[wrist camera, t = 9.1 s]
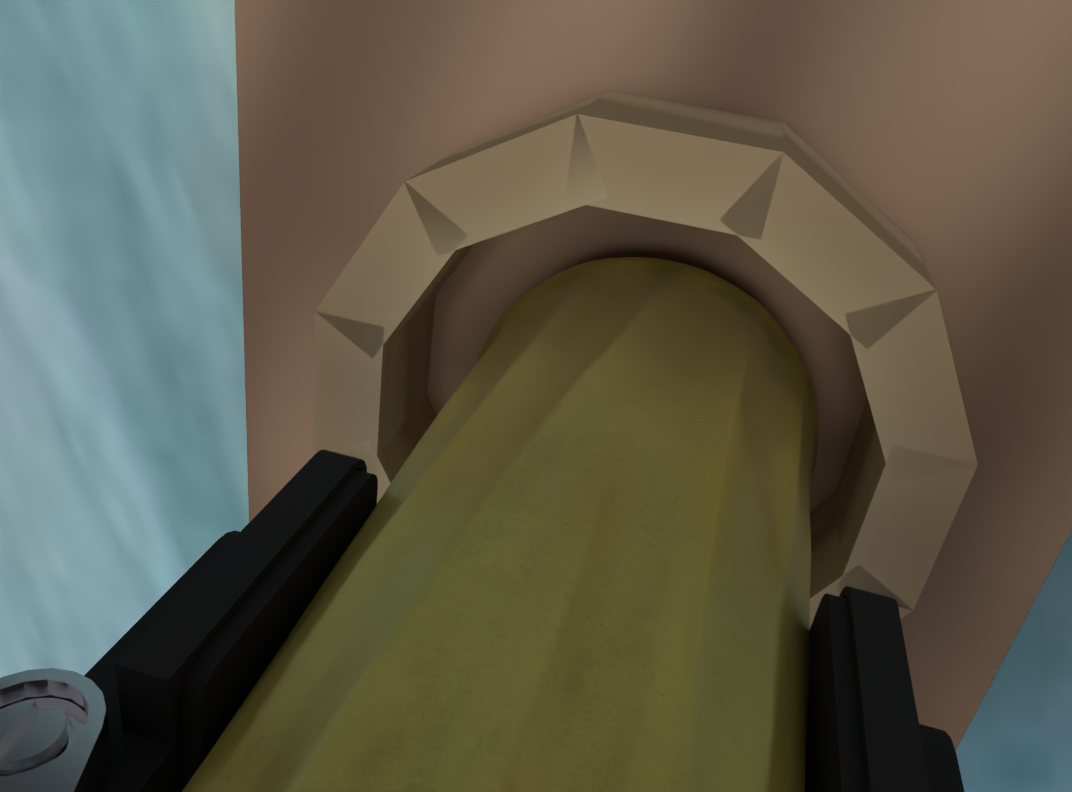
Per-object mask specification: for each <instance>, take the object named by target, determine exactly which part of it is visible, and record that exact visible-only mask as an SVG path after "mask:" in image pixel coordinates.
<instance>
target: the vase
mask: <svg viewBox="0 0 1072 792" xmlns="http://www.w3.org/2000/svg"><path fill="white" fill-rule="evenodd" d="M818 440H819V421H818V407H817V400H816V393H815V388H814V385H813V382H812V379H811V376H810V373H809V370H808V368H807V367H806V365H805V363H804V361H803V359H802V358H801V356H800V354H799V352H798V351H797V349H796V348H795V347H794V345H793V344H792V343H791V341H790V340H789V338H788V337H787V335H786V334H785V332H784V331H783V330H782V328H781V327H780V326H779V325H778V323H777V322H776V321H775V319H774V318H773V317H772V316H771V314H770V313H769V312H768V311H767V310H766V309H765V308H764V307H763V306H762V305H761V304H760V303H759V302H758V301H757V300H755V299H754V298H752V297H751V296H749V295H748V294H746V293H745V292H744V291H742V290H741V289H739V288H737V287H736V286H734V285H732V284H731V283H729V282H727V281H726V280H724V279H722V278H720V277H718V276H716V275H714V274H712V273H710V272H708V271H705V270H702V269H699V268H697V267H694V266H691V265H687V264H683V263H680V262H676V261H670V260H665V259H659V258H647V257H619V258H604V259H599V260H593V261H589V262H585V263H582V264H579V265H576V266H573V267H571V268H568V269H566V270H564V271H561V272H559V273H557V274H555V275H553V276H551V277H550V278H548V279H546V280H544V281H542V282H541V283H539V284H538V285H536V286H535V287H534V288H532V289H531V290H530V291H528V292H527V293H525V294H524V295H523V296H521V297H520V298H519V299H517V300H516V301H515V302H513V303H512V304H511V305H510V307H509V308H508V309H507V310H505V311H504V313H503V314H502V315H501V317H500V318H499V319H498V321H497V322H496V324H495V325H494V327H493V329H492V330H491V332H490V334H489V336H488V337H487V339H486V341H485V343H484V346H483V348H482V350H481V352H480V355H479V357H478V360H477V363H476V364H475V366H474V367H473V368H472V369H471V371H470V372H469V373H468V374H467V376H466V377H465V378H464V379H463V381H462V382H461V383H460V384H459V386H458V387H457V388H456V390H455V391H454V393H453V394H452V395H451V397H450V398H449V399H448V401H447V402H446V404H445V405H444V407H443V408H442V409H441V411H440V412H439V414H438V415H437V417H436V418H435V420H434V421H433V422H432V424H431V425H430V427H429V428H428V430H427V431H426V433H425V434H424V435H423V437H422V438H421V440H420V441H419V442H418V444H417V445H416V447H415V448H414V450H413V451H412V453H411V454H410V456H409V457H408V459H407V460H406V461H405V463H404V464H403V466H402V467H401V469H400V470H399V472H398V473H397V475H396V476H395V478H394V479H393V481H392V482H391V484H390V485H389V487H388V488H387V490H386V491H385V493H384V495H383V496H382V498H381V499H380V501H379V502H378V504H377V505H376V507H375V508H374V510H373V511H372V513H371V514H370V516H369V517H368V519H367V520H366V522H365V523H364V525H363V526H362V527H361V529H360V530H359V532H358V533H357V535H356V536H355V538H354V539H353V540H352V542H351V543H350V545H349V546H348V548H347V549H346V551H345V552H344V553H343V555H342V556H341V558H340V559H339V561H338V562H337V564H336V565H335V567H334V568H333V570H332V571H331V572H330V574H329V575H328V577H327V578H326V580H325V581H324V583H323V584H322V586H321V587H320V589H319V590H318V592H317V593H316V595H315V596H314V598H313V599H312V601H311V602H310V604H309V605H308V607H307V608H306V610H305V611H304V613H303V614H302V616H301V617H300V619H299V620H298V622H297V624H296V625H295V627H294V628H293V630H292V631H291V633H290V634H289V636H288V637H287V639H286V640H285V642H284V643H283V645H282V646H281V648H280V649H279V651H278V652H277V653H276V655H275V656H274V658H273V659H272V661H271V662H270V664H269V665H268V667H267V668H266V670H265V671H264V673H263V674H262V676H261V677H260V678H259V680H258V681H257V683H256V684H255V686H254V687H253V689H252V690H251V692H250V693H249V695H248V696H247V698H246V699H245V701H244V702H243V703H242V705H241V706H240V708H239V709H238V711H237V712H236V714H235V715H234V717H233V718H232V720H231V721H230V723H229V724H228V726H227V727H226V728H225V730H224V731H223V733H222V734H221V736H220V737H219V739H218V740H217V742H216V743H215V745H214V746H213V748H212V749H211V751H210V752H209V754H208V755H207V757H206V758H205V760H204V761H203V762H202V764H201V765H200V767H199V768H198V769H197V771H196V772H195V774H194V775H193V776H192V778H191V779H190V781H189V782H188V783H187V785H186V786H185V788H184V789H183V790H182V792H805V781H806V751H807V729H808V708H809V693H810V636H809V630H810V610H809V601H810V579H811V530H810V490H811V480H812V474H813V470H814V467H815V464H816V459H817V448H818Z"/></svg>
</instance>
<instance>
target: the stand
mask: <svg viewBox="0 0 1072 792" xmlns="http://www.w3.org/2000/svg"><path fill="white" fill-rule="evenodd" d="M235 29H236V65H237V101H238V136H239V172H240V208H241V244H242V280H243V315H244V351H245V387H246V423H247V459H248V494H249V523H250V522H251V521H252V519H253V518H254V517H255V516H256V515H257V514H258V513H259V512H260V511H261V510H262V509H263V508H264V507H265V506H266V505H267V504H268V503H269V502H270V501H271V500H272V499H273V498H274V497H275V495H276V494H277V493H278V492H279V491H280V490H281V489H282V488H283V487H284V486H285V485H286V484H287V483H288V482H289V481H290V480H291V479H292V478H293V477H294V476H295V475H296V474H297V473H298V471H299V470H300V469H301V468H302V467H303V466H304V465H305V464H306V463H307V462H308V461H309V460H310V459H311V458H312V457H313V456H314V455H315V454H316V453H317V452H318V451H320V450H328V451H332V452H336V453H340V454H343V455H347V456H351V457H355V458H359V459H363V460H364V461H365V463H366V466H367V472H368V473H372V474H375V475H376V476H377V479H378V492H377V504H378V502H379V501H380V499H381V498H382V496H383V495H384V493H385V491H386V490H387V488H388V487H389V485H390V484H391V482H392V481H393V479H394V478H395V476H396V475H397V473H398V472H399V470H400V469H401V467H402V466H403V464H404V463H405V461H406V460H407V459H408V457H409V456H410V454H411V453H412V451H413V450H414V448H415V447H416V445H417V444H418V442H419V441H420V440H421V438H422V437H423V435H424V434H425V433H426V431H427V430H428V428H429V427H430V425H431V424H432V422H433V421H434V420H435V418H436V417H437V415H438V414H439V412H440V411H441V409H442V408H443V407H444V405H445V404H446V402H447V401H448V399H449V398H450V397H451V395H452V394H453V393H454V391H455V390H456V388H457V387H458V386H459V384H460V383H461V382H462V381H463V379H464V378H465V377H466V376H467V374H468V373H469V372H470V371H471V369H472V368H473V367H474V366H475V364H476V363H477V360H478V357H479V355H480V352H481V350H482V348H483V346H484V343H485V341H486V339H487V337H488V336H489V334H490V332H491V330H492V329H493V327H494V325H495V324H496V322H497V321H498V319H499V318H500V317H501V315H502V314H503V313H504V311H505V310H507V309H508V308H509V307H510V305H511V304H512V303H513V302H515V301H516V300H517V299H519V298H520V297H521V296H523V295H524V294H525V293H527V292H528V291H530V290H531V289H532V288H534V287H535V286H536V285H538V284H539V283H541V282H542V281H544V280H546V279H548V278H550V277H551V276H553V275H555V274H557V273H559V272H561V271H564V270H566V269H568V268H571V267H573V266H576V265H579V264H582V263H585V262H589V261H593V260H599V259H604V258H619V257H647V258H659V259H665V260H670V261H676V262H680V263H683V264H687V265H691V266H694V267H697V268H699V269H702V270H705V271H708V272H710V273H712V274H714V275H716V276H718V277H720V278H722V279H724V280H726V281H727V282H729V283H731V284H732V285H734V286H736V287H737V288H739V289H741V290H742V291H744V292H745V293H746V294H748V295H749V296H751V297H752V298H754V299H755V300H757V301H758V302H759V303H760V304H761V305H762V306H763V307H764V308H765V309H766V310H767V311H768V312H769V313H770V314H771V316H772V317H773V318H774V319H775V321H776V322H777V323H778V325H779V326H780V327H781V328H782V330H783V331H784V332H785V334H786V335H787V337H788V338H789V340H790V341H791V343H792V344H793V345H794V347H795V348H796V349H797V351H798V352H799V354H800V356H801V358H802V359H803V361H804V363H805V365H806V367H807V368H808V370H809V373H810V376H811V379H812V382H813V385H814V388H815V393H816V400H817V407H818V421H819V440H818V448H817V459H816V464H815V467H814V470H813V474H812V480H811V490H810V530H811V579H810V601H809V610H810V628H811V625H812V622H813V620H814V617H815V614H816V612H817V609H818V606H819V604H820V601H821V599H822V597H823V596H824V594H826V593H827V594H831V595H835V596H839V595H840V593H841V591H842V590H843V588H844V587H846V586H849V587H853V588H857V589H860V590H864V591H868V592H872V593H876V594H879V595H883V596H887V597H891V598H894V599H895V600H896V601H897V604H898V608H899V614H900V619H901V625H902V631H903V636H904V642H905V647H906V653H907V659H908V664H909V670H910V676H911V681H912V687H913V693H914V698H915V704H916V710H917V715H918V721H919V724H922V725H925V726H929V727H933V728H936V729H940V730H943V731H946V732H947V734H948V735H949V736H950V737H951V739H952V742H953V745H954V748H955V751H956V749H957V747H958V745H959V743H960V741H961V739H962V737H963V735H964V734H965V732H966V730H967V728H968V726H969V724H970V722H971V720H972V718H973V716H974V715H975V713H976V711H977V709H978V707H979V705H980V703H981V701H982V699H983V697H984V696H985V694H986V692H987V690H988V688H989V686H990V684H991V682H992V680H993V678H994V677H995V675H996V673H997V671H998V669H999V667H1000V665H1001V663H1002V661H1003V659H1004V658H1005V656H1006V654H1007V652H1008V650H1009V648H1010V646H1011V644H1012V642H1013V641H1014V639H1015V637H1016V635H1017V633H1018V631H1019V629H1020V627H1021V625H1022V623H1023V622H1024V620H1025V618H1026V616H1027V614H1028V612H1029V610H1030V608H1031V606H1032V604H1033V603H1034V601H1035V599H1036V597H1037V595H1038V593H1039V591H1040V589H1041V587H1042V585H1043V584H1044V582H1045V580H1046V578H1047V576H1048V574H1049V572H1050V570H1051V568H1052V566H1053V565H1054V563H1055V561H1056V559H1057V557H1058V555H1059V553H1060V551H1061V549H1062V547H1063V546H1064V544H1065V542H1066V540H1067V538H1068V536H1069V534H1070V532H1071V530H1072V0H235Z"/></svg>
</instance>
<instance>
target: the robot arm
mask: <svg viewBox="0 0 1072 792" xmlns="http://www.w3.org/2000/svg"><path fill="white" fill-rule="evenodd" d="M377 492H378V479H377V476H376V475H375V474H372V473H368V472H367V466H366V463H365V461H364V460H363V459H359V458H355V457H351V456H347V455H343V454H340V453H336V452H332V451H328V450H320V451H318V452H317V453H316V454H315V455H314V456H313V457H312V458H311V459H310V460H309V461H308V462H307V463H306V464H305V465H304V466H303V467H302V468H301V469H300V470H299V471H298V473H297V474H296V475H295V476H294V477H293V478H292V479H291V480H290V481H289V482H288V483H287V484H286V485H285V486H284V487H283V488H282V489H281V490H280V491H279V492H278V493H277V494H276V495H275V497H274V498H273V499H272V500H271V501H270V502H269V503H268V504H267V505H266V506H265V507H264V508H263V509H262V510H261V511H260V512H259V513H258V514H257V515H256V516H255V517H254V518H253V519H252V521H251V522H250V523H249V524H248V525H247V526H246V527H245V528H244V529H243V530H242V531H241V532H238V531H232V532H228V533H226V534H225V535H224V536H222V537H221V538H220V539H218V540H217V541H216V542H215V543H214V544H213V545H212V546H211V547H210V549H209V550H208V551H207V552H206V553H205V554H204V555H203V556H202V557H201V558H200V559H199V560H198V561H197V562H196V563H195V564H194V565H193V566H192V567H191V568H190V569H189V570H188V571H187V572H186V573H185V574H184V575H183V576H182V577H181V578H180V579H179V580H178V581H177V582H176V583H175V584H174V585H173V586H172V587H171V588H170V589H169V590H168V591H167V592H166V593H165V594H164V595H163V596H162V597H161V598H160V599H159V600H158V601H157V602H156V603H155V604H154V605H153V606H152V607H151V608H150V609H149V610H148V611H147V613H146V614H145V615H144V616H143V617H142V618H141V619H140V620H139V621H138V622H137V623H136V624H135V625H134V626H133V627H132V628H131V629H130V630H129V631H128V632H127V633H126V634H125V635H124V636H123V637H122V638H121V639H120V640H119V641H118V642H117V643H116V644H115V645H114V646H113V647H112V648H111V649H110V650H109V651H108V652H107V653H106V654H105V655H104V656H103V657H102V658H101V659H100V660H99V661H98V662H97V663H96V664H95V665H94V666H93V667H92V668H91V669H90V670H89V671H88V672H87V673H86V674H85V675H84V676H83V675H81V674H79V673H77V672H74V671H68V670H61V669H55V668H49V669H35V670H27V671H23V672H19V673H15V674H12V675H8V676H4V677H2V678H0V792H182V790H183V789H184V788H185V786H186V785H187V783H188V782H189V781H190V779H191V778H192V776H193V775H194V774H195V772H196V771H197V769H198V768H199V767H200V765H201V764H202V762H203V761H204V760H205V758H206V757H207V755H208V754H209V752H210V751H211V749H212V748H213V746H214V745H215V743H216V742H217V740H218V739H219V737H220V736H221V734H222V733H223V731H224V730H225V728H226V727H227V726H228V724H229V723H230V721H231V720H232V718H233V717H234V715H235V714H236V712H237V711H238V709H239V708H240V706H241V705H242V703H243V702H244V701H245V699H246V698H247V696H248V695H249V693H250V692H251V690H252V689H253V687H254V686H255V684H256V683H257V681H258V680H259V678H260V677H261V676H262V674H263V673H264V671H265V670H266V668H267V667H268V665H269V664H270V662H271V661H272V659H273V658H274V656H275V655H276V653H277V652H278V651H279V649H280V648H281V646H282V645H283V643H284V642H285V640H286V639H287V637H288V636H289V634H290V633H291V631H292V630H293V628H294V627H295V625H296V624H297V622H298V620H299V619H300V617H301V616H302V614H303V613H304V611H305V610H306V608H307V607H308V605H309V604H310V602H311V601H312V599H313V598H314V596H315V595H316V593H317V592H318V590H319V589H320V587H321V586H322V584H323V583H324V581H325V580H326V578H327V577H328V575H329V574H330V572H331V571H332V570H333V568H334V567H335V565H336V564H337V562H338V561H339V559H340V558H341V556H342V555H343V553H344V552H345V551H346V549H347V548H348V546H349V545H350V543H351V542H352V540H353V539H354V538H355V536H356V535H357V533H358V532H359V530H360V529H361V527H362V526H363V525H364V523H365V522H366V520H367V519H368V517H369V516H370V514H371V513H372V511H373V510H374V508H375V507H376V505H377ZM809 636H810V693H809V708H808V729H807V751H806V781H805V792H964V788H963V784H962V779H961V775H960V770H959V765H958V761H957V756H956V752H955V748H954V745H953V742H952V739H951V737H950V736H949V735H948V734H947V732H946V731H943V730H940V729H936V728H933V727H929V726H925V725H922V724H919V721H918V715H917V710H916V704H915V698H914V693H913V687H912V681H911V676H910V670H909V664H908V659H907V653H906V647H905V642H904V636H903V631H902V625H901V619H900V614H899V608H898V604H897V601H896V600H895V599H894V598H891V597H887V596H883V595H879V594H876V593H872V592H868V591H864V590H860V589H857V588H853V587H849V586H846V587H844V588H843V590H842V591H841V593H840V595H839V596H835V595H831V594H827V593H826V594H824V596H823V597H822V599H821V601H820V604H819V606H818V609H817V612H816V614H815V617H814V620H813V622H812V625H811V628H810V630H809Z"/></svg>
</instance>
